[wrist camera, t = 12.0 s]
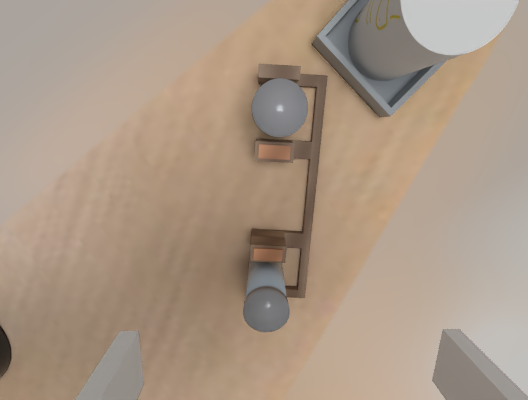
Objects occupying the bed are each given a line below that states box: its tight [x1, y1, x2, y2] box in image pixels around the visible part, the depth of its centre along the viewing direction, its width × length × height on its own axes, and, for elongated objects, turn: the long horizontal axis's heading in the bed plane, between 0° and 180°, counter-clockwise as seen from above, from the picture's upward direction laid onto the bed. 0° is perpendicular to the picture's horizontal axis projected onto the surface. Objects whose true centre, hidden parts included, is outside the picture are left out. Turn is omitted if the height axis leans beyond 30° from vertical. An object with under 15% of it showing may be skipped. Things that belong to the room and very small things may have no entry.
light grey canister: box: [348, 0, 519, 81], centre depth 25 cm, size 8×8×12 cm
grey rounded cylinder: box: [252, 78, 308, 137], centre depth 28 cm, size 5×5×10 cm
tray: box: [312, 0, 447, 117], centre depth 30 cm, size 11×11×3 cm
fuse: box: [243, 261, 289, 332], centre depth 33 cm, size 5×5×10 cm
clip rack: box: [250, 64, 327, 298], centre depth 33 cm, size 8×28×5 cm, turn 177°
